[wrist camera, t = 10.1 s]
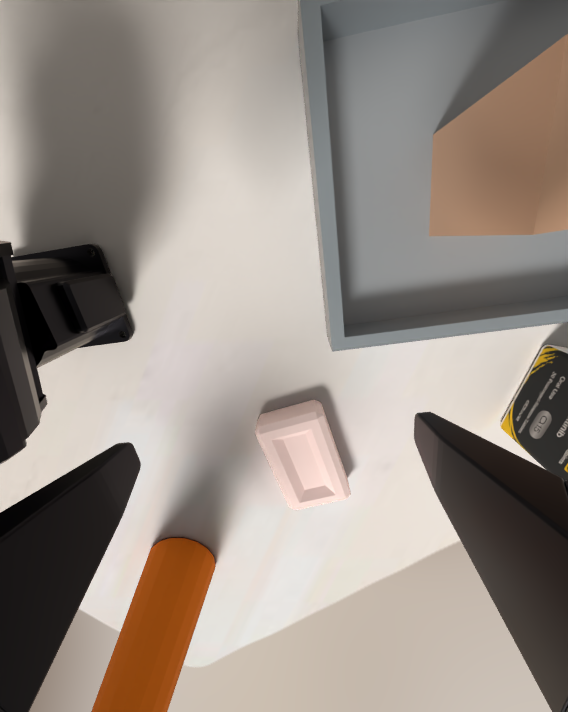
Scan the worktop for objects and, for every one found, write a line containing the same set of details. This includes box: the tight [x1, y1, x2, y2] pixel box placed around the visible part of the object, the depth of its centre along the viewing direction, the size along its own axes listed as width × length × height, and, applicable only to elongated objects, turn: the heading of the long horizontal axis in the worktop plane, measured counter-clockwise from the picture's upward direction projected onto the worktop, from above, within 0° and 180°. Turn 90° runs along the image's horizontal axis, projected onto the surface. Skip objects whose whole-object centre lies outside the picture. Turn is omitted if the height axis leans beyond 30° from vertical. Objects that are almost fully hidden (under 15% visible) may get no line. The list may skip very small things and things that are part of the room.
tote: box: [298, 0, 568, 351], centre depth 15 cm, size 18×16×3 cm
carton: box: [429, 34, 568, 236], centre depth 12 cm, size 5×5×8 cm
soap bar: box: [255, 399, 351, 510], centre depth 23 cm, size 5×9×2 cm, turn 19°
